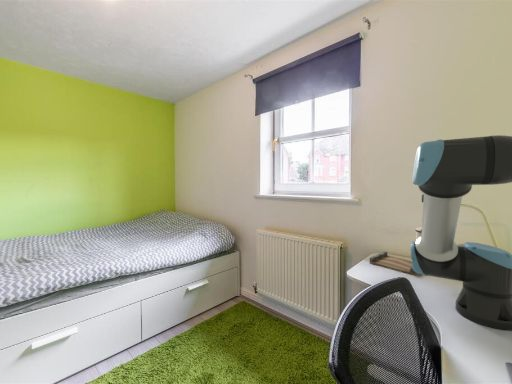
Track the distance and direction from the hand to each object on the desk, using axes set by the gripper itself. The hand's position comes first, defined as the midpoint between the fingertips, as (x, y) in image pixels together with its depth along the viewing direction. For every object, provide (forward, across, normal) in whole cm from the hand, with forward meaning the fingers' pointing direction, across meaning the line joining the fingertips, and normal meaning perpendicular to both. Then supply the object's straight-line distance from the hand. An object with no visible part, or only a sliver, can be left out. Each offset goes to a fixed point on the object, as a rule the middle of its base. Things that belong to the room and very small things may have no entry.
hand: (431, 245), depth 102 cm
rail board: (+16, +12, +18) cm, 27 cm away
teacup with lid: (+3, +1, 0) cm, 3 cm away
